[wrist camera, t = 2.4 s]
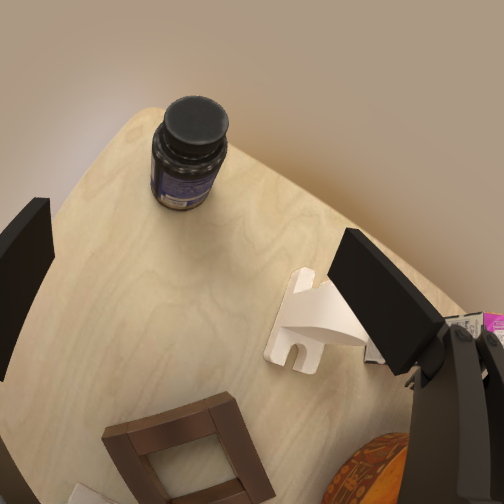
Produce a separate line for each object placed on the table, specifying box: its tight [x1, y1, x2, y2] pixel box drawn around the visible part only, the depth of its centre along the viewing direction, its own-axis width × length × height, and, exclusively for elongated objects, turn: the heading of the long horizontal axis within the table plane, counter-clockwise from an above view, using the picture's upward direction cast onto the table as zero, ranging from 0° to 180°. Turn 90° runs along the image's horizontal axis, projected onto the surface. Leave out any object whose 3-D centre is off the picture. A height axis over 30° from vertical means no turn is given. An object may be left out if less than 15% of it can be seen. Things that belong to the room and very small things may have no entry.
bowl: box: [321, 433, 410, 504], centre depth 23 cm, size 21×21×10 cm
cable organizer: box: [263, 267, 369, 375], centre depth 25 cm, size 5×10×10 cm, turn 159°
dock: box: [101, 391, 276, 504], centre depth 22 cm, size 12×12×3 cm
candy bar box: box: [364, 311, 504, 367], centre depth 26 cm, size 11×5×16 cm, turn 82°
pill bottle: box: [151, 96, 229, 211], centre depth 24 cm, size 6×6×11 cm
